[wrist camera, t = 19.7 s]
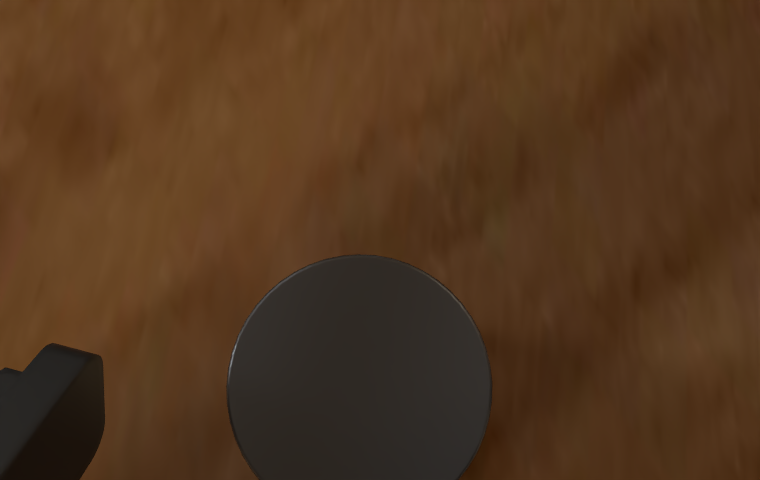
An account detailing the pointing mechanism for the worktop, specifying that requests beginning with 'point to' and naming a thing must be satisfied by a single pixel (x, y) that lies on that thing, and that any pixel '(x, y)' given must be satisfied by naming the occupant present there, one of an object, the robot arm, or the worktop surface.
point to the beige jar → (359, 376)
